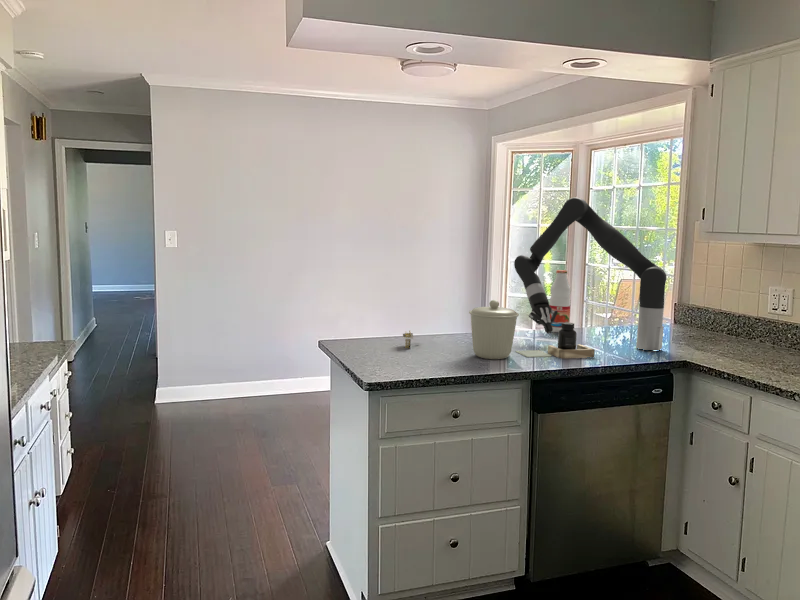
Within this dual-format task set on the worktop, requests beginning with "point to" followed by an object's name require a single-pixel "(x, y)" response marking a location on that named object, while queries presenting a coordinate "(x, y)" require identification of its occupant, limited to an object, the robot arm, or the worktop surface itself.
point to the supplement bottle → (567, 336)
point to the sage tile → (534, 353)
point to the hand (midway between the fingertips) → (549, 332)
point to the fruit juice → (560, 300)
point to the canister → (493, 330)
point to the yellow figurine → (408, 338)
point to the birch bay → (571, 352)
